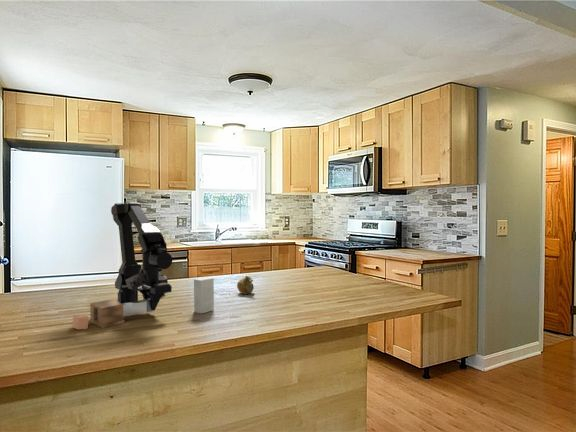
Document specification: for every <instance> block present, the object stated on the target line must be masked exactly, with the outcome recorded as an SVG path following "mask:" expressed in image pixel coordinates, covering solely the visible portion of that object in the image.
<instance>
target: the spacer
mask: <svg viewBox="0 0 576 432" xmlns="http://www.w3.org/2000/svg"><path fill="white" fill-rule="evenodd" d="M89 322H90V317H89V316H87V315H86V314H82V313H81V314H74V315H73V317H72V324H71V327H72V328H74V329H76V330H78V331H79V330H87V329H88V328H89V327H88V326H89Z"/></svg>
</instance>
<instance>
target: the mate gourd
mask: <svg viewBox="0 0 576 432" xmlns="http://www.w3.org/2000/svg"><path fill="white" fill-rule="evenodd" d="M159 279H160V280H162V283H168V284H169V282H168V277H167V275H165V274H162V271H160V272H159ZM164 295H165V293H163V295H162V296H164Z"/></svg>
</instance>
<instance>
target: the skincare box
mask: <svg viewBox="0 0 576 432" xmlns="http://www.w3.org/2000/svg"><path fill="white" fill-rule="evenodd" d="M214 280H215V279H214V278H213V277H209V276H205V277H198V278H195V279H193V298H194V299H193V303H194V304H193V305H194V307H193V310H194V313H199V314H204V313H208V312H212V311H215V302H214V301H215V290H214V288H215V287H214V286H215V285H214Z"/></svg>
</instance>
